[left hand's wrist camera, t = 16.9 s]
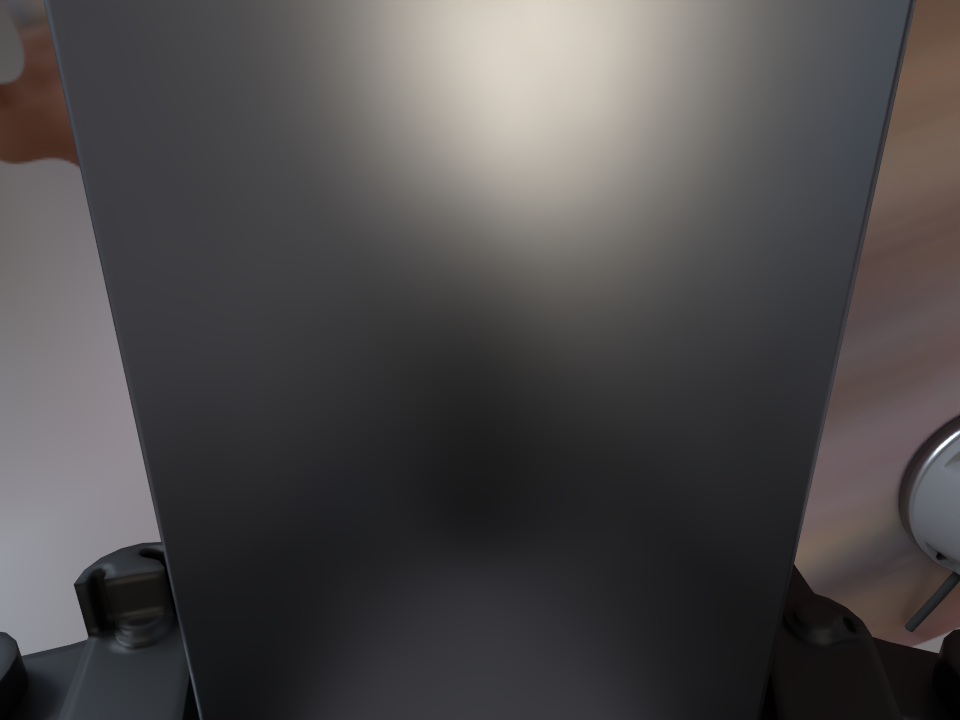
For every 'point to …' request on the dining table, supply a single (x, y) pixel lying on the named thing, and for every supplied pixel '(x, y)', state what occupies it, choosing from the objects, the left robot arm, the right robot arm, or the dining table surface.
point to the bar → (479, 333)
